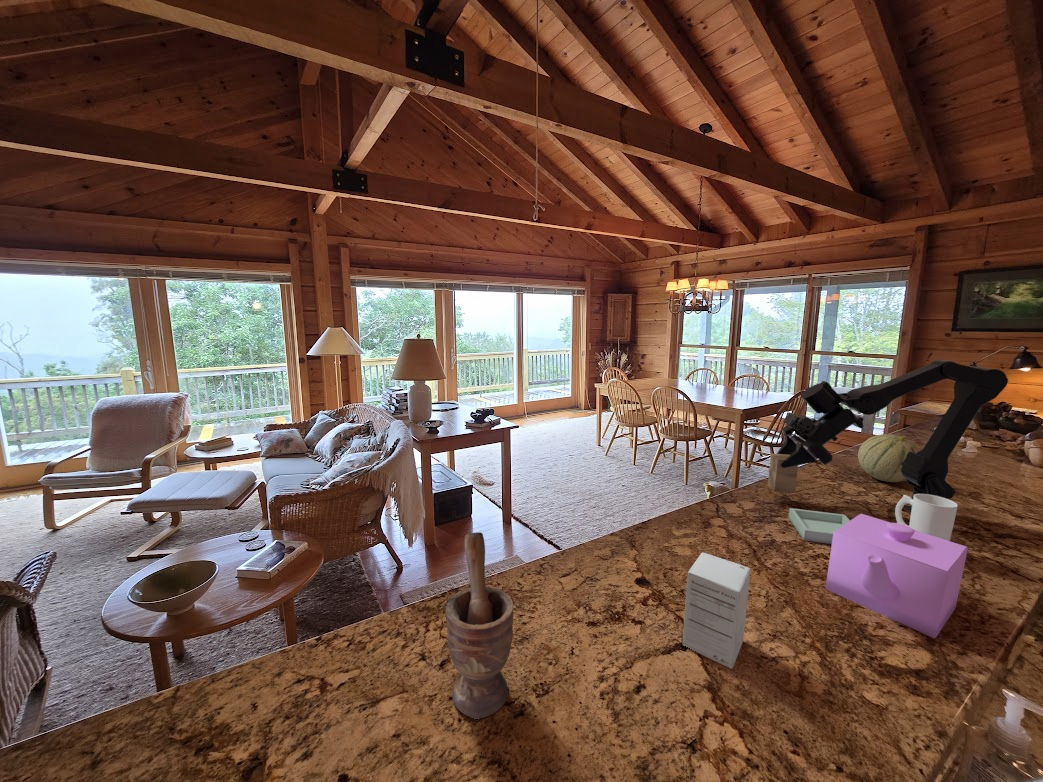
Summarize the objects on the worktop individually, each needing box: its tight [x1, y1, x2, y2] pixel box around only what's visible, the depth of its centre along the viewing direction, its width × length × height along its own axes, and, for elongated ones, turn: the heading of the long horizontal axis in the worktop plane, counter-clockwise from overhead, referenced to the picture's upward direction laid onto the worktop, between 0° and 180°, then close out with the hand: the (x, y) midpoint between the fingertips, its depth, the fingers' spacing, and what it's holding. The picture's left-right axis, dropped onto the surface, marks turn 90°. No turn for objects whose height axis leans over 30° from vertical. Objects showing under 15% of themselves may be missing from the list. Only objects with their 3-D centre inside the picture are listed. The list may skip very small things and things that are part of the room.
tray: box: [788, 507, 851, 545], centre depth 101 cm, size 12×12×2 cm
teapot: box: [825, 513, 969, 640], centre depth 75 cm, size 15×25×14 cm, turn 125°
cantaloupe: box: [857, 433, 920, 483], centre depth 132 cm, size 15×15×15 cm
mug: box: [894, 494, 959, 542], centre depth 93 cm, size 10×7×12 cm, turn 18°
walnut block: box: [767, 453, 799, 494], centre depth 116 cm, size 5×5×9 cm
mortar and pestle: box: [445, 531, 514, 720], centre depth 57 cm, size 12×9×20 cm
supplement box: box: [682, 551, 752, 669], centre depth 65 cm, size 7×7×13 cm
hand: (778, 463), depth 116 cm, fingers closed on walnut block, 5 cm apart
